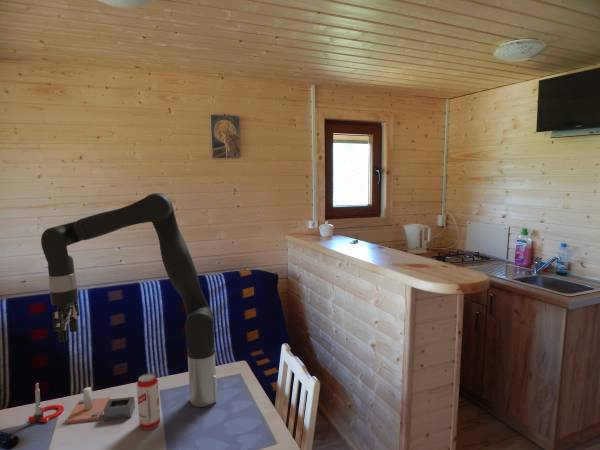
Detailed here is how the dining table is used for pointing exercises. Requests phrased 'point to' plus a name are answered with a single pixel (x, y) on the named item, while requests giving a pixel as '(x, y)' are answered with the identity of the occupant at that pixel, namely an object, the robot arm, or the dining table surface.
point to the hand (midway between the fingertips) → (68, 336)
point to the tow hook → (44, 409)
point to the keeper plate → (87, 414)
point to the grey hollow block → (119, 408)
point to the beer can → (148, 401)
